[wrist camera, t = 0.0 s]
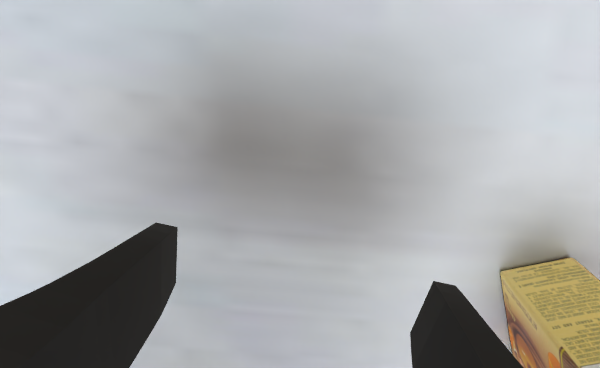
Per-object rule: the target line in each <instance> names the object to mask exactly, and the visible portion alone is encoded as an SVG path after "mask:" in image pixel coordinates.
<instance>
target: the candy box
mask: <svg viewBox="0 0 600 368" xmlns="http://www.w3.org/2000/svg"><path fill="white" fill-rule="evenodd" d="M500 275H501V281H502V289H503V295H504V302H505V308H506V315H507V321H508V328H509V335H510V341H511V346H512V352H513V356H514V357H515V358H516V359H517V360H518V362H519V363H520V364H521V365H522V366H523V367H524V368H600V280H598V279H597V278H596V277H595V276H594V275H593V274H592V273H590V272H589V271H588V270H587V269H586V268H585V267H583V266H582V265H581V264H580V263H578V262H577V261H576V260H575V259H573V258H564V259H559V260H555V261H551V262H546V263H541V264H535V265H530V266H525V267H520V268H515V269H510V270H505V271H501V272H500Z"/></svg>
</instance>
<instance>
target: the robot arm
mask: <svg viewBox="0 0 600 368" xmlns="http://www.w3.org/2000/svg"><path fill="white" fill-rule="evenodd" d="M176 259H177V227H174V226H169V225H165V224H160V223H155V224H153V225H151V226H150V227H148V228H146V229H145V230H143V231H141V232H140V233H138V234H136V235H135V236H133V237H131V238H130V239H128V240H126V241H125V242H123V243H121V244H120V245H118V246H117V247H115V248H113V249H112V250H110V251H108V252H106V253H105V254H103V255H101V256H100V257H98V258H96V259H94V260H93V261H91V262H89V263H87V264H85V265H84V266H82V267H80V268H78V269H76V270H74V271H72V272H70V273H68V274H67V275H65V276H63V277H61V278H59V279H57V280H55V281H53V282H52V283H49V284H47V285H45V286H43V287H41V288H39V289H37V290H35V291H33V292H31V293H29V294H26V295H24V296H22V297H20V298H17V299H15V300H13V301H11V302H8V303H6V304H4V305H1V306H0V368H129V367H130V366H131V364H132V362H133V361H134V359H135V358H136V356H137V354H138V353H139V351H140V349H141V348H142V346H143V344H144V343H145V341H146V340H147V338H148V336H149V335H150V333H151V331H152V330H153V328H154V326H155V325H156V323H157V321H158V320H159V318H160V316H161V314H162V312H163V310H164V308H165V306H166V304H167V301H168V299H169V297H170V295H171V292H172V290H173V288H174V286H175V283H176ZM410 335H411V354H412V366H413V368H524V367H523V366H522V365H521V364H520V363H519V362H518V360H517V359H516V358H515V357H514V356H513V355H512V354H511V352H510V351H509V350H508V349H507V348H506V346H505V345H504V344H503V343H502V342H501V340H500V339H499V338H498V337H497V336H496V334H495V333H494V332H493V331H492V330H491V328H490V327H489V326H488V325H487V323H486V322H485V321H484V320H483V318H482V317H481V316H480V315H479V313H478V312H477V311H476V310H475V309H474V307H473V306H472V305H471V304H470V302H469V301H468V300H467V299H466V297H465V296H464V295H463V294H462V293H461V291H460V290H459V289H458V288H457V287H456V286H454V285H449V284H444V283H440V282H435V281H433V284H432V286H431V288H430V290H429V292H428V295H427V297H426V299H425V301H424V304H423V306H422V308H421V310H420V312H419V315H418V317H417V319H416V321H415V324H414V326H413V328H412V330H411V332H410Z"/></svg>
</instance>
